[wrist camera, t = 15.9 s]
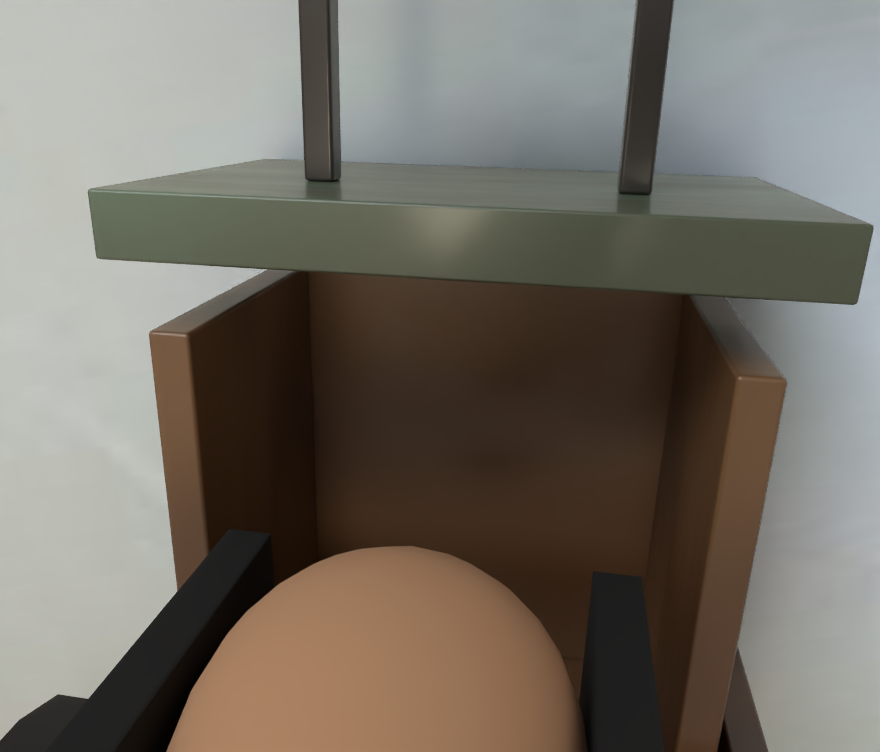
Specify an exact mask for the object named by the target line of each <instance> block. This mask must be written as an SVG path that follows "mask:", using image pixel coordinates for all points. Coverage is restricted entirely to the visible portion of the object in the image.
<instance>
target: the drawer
mask: <svg viewBox="0 0 880 752" xmlns="http://www.w3.org/2000/svg"><path fill="white" fill-rule="evenodd" d="M673 4H674V0H636V4H635V14H634V24H633V34H632V44H631V54H630V64H629V74H628V85H627V95H626V105H625V115H624V125H623V135H622V145H621V155H620V165H619V172H601V171H574V170H547V169H521V168H494V167H468V166H441V165H414V164H388V163H361V162H341V141H340V91H339V42H338V0H299V28H300V55H301V83H302V111H303V139H304V160H281V159H262V160H256V161H250V162H244V163H239V164H233V165H227V166H221V167H215V168H209V169H203V170H197V171H191V172H186V173H180V174H174V175H168V176H162V177H156V178H150V179H144V180H138V181H133V182H127V183H121V184H115V185H109V186H103V187H97V188H91V189H89V190H88V196H89V204H90V212H91V219H92V227H93V235H94V242H95V250H96V256H97V258H99V259H108V260H124V261H141V262H157V263H174V264H190V265H206V266H223V267H239V268H256V269H268V270H266V271H264V272H262V273H260V274H258V275H256V276H254V277H253V278H251V279H249V280H247V281H245V282H243V283H241V284H239V285H237V286H235V287H234V288H232V289H230V290H228V291H226V292H224V293H222V294H220V295H218V296H216V297H215V298H213V299H211V300H209V301H207V302H205V303H203V304H201V305H199V306H197V307H196V308H194V309H192V310H190V311H188V312H186V313H184V314H182V315H180V316H178V317H176V318H175V319H173V320H171V321H169V322H167V323H165V324H163V325H161V326H159V327H157V328H156V329H154V330H152V331H150V334H149V338H150V347H151V356H152V365H153V374H154V383H155V392H156V401H157V410H158V419H159V428H160V437H161V446H162V455H163V464H164V473H165V482H166V491H167V500H168V509H169V518H170V527H171V536H172V545H173V554H174V563H175V572H176V581H177V590H179V589H180V588H181V587H182V585H183V584H184V583H185V582H186V581H187V579H188V578H189V577H190V576H191V574H192V573H193V572H194V571H195V570H196V568H197V567H198V566H199V565H200V564H201V562H202V561H203V560H204V559H205V558H206V556H207V555H208V554H209V553H210V552H211V550H212V549H213V548H214V547H215V546H216V544H217V543H218V542H219V541H220V539H221V538H222V537H223V536H224V535H225V533H226V532H227V531H228V530H229V529H234V530H243V531H252V532H260V533H269V534H271V541H272V558H273V575H274V588H275V587H276V586H277V585H278V584H280V583H281V582H283V581H285V580H287V579H288V578H290V577H292V576H293V575H295V574H297V573H299V572H300V571H302V570H304V569H306V568H307V567H309V566H311V565H312V564H314V563H317V562H319V561H322V560H324V559H327V558H329V557H332V556H335V555H338V554H342V553H346V552H350V551H354V550H357V549H364V548H375V547H391V546H415V547H419V548H424V549H428V550H433V551H437V552H442V553H446V554H450V555H452V556H454V557H457V558H459V559H461V560H463V561H466V562H468V563H470V564H472V565H474V566H475V567H477V568H478V569H480V570H482V571H483V572H485V573H486V574H488V575H490V576H491V577H493V578H495V579H496V580H498V581H499V582H501V583H502V584H503V585H505V586H506V587H507V588H509V589H510V590H511V591H512V592H513V593H514V594H515V595H516V596H517V597H518V598H519V599H520V600H521V602H522V603H523V604H524V605H525V606H526V607H527V608H528V609H529V610H530V611H531V612H532V613H533V614H534V615H535V616H536V617H537V618H538V619H539V620H540V622H541V623H542V625H543V626H544V628H545V630H546V631H547V633H548V634H549V636H550V637H551V639H552V641H553V642H554V644H555V645H556V647H557V648H558V650H559V651H560V654H561V656H562V659H563V662H564V664H565V667H566V670H567V673H568V675H569V678H570V681H571V683H572V686H573V689H574V692H575V694H576V697H577V700H578V702H579V698H580V689H581V679H582V670H583V661H584V651H585V642H586V633H587V623H588V614H589V605H590V595H591V586H592V577H593V571H596V572H604V573H613V574H621V575H630V576H639V577H642V583H643V591H644V598H645V606H646V613H647V621H648V629H649V636H650V644H651V651H652V659H653V666H654V674H655V681H656V689H657V697H658V704H659V712H660V719H661V727H662V734H663V742H664V749H665V752H717V750H718V745H719V739H720V734H721V729H722V724H723V718H724V713H725V708H726V703H727V697H728V692H729V687H730V681H731V676H732V671H733V666H734V660H735V655H736V650H737V645H738V639H739V634H740V629H741V624H742V618H743V613H744V608H745V603H746V597H747V592H748V587H749V581H750V576H751V571H752V566H753V560H754V555H755V550H756V545H757V539H758V534H759V529H760V524H761V518H762V513H763V508H764V502H765V497H766V492H767V487H768V481H769V476H770V471H771V466H772V460H773V455H774V450H775V445H776V439H777V434H778V429H779V424H780V418H781V413H782V408H783V402H784V397H785V392H786V387H787V381H786V378H785V377H784V376H783V374H782V373H781V372H780V371H779V369H778V368H777V367H776V365H775V364H774V363H773V361H772V360H771V359H770V357H769V356H768V355H767V353H766V352H765V351H764V349H763V348H762V347H761V345H760V344H759V343H758V341H757V340H756V339H755V337H754V336H753V335H752V333H751V332H750V331H749V329H748V328H747V327H746V325H745V324H744V323H743V321H742V320H741V319H740V317H739V316H738V315H737V313H736V312H735V311H734V310H733V308H732V307H731V306H730V304H729V303H728V302H727V300H726V299H725V298H724V297H732V298H748V299H765V300H781V301H797V302H814V303H830V304H847V305H854V304H857V302H858V298H859V293H860V289H861V284H862V280H863V275H864V270H865V266H866V261H867V256H868V252H869V247H870V242H871V238H872V233H873V225H871V224H869V223H866V222H864V221H861V220H859V219H857V218H854V217H852V216H849V215H847V214H844V213H842V212H839V211H837V210H835V209H832V208H830V207H827V206H825V205H822V204H820V203H817V202H815V201H812V200H810V199H808V198H805V197H803V196H800V195H798V194H795V193H793V192H790V191H788V190H785V189H783V188H781V187H778V186H776V185H773V184H771V183H768V182H766V181H763V180H761V179H759V178H756V177H734V176H707V175H680V174H654V169H655V161H656V152H657V143H658V135H659V126H660V117H661V109H662V100H663V91H664V83H665V74H666V65H667V56H668V48H669V39H670V30H671V22H672V13H673Z"/></svg>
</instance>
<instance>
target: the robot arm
mask: <svg viewBox="0 0 880 752" xmlns="http://www.w3.org/2000/svg"><path fill="white" fill-rule="evenodd" d="M272 589H274V575H273V558H272V541H271V534H269V533H260V532H252V531H243V530H234V529H229V530H228V531H227V532H226V533H225V535H224V536H223V537H222V538H221V539H220V541H219V542H218V543H217V544H216V546H215V547H214V548H213V549H212V550H211V552H210V553H209V554H208V555H207V556H206V558H205V559H204V560H203V561H202V562H201V564H200V565H199V566H198V567H197V568H196V570H195V571H194V572H193V573H192V574H191V576H190V577H189V578H188V579H187V581H186V582H185V583H184V584H183V585H182V587H181V588H180V589H179V590H178V591H177V593H176V594H175V595H174V596H173V597H172V599H171V600H170V601H169V602H168V603H167V605H166V606H165V607H164V608H163V610H162V611H161V612H160V613H159V614H158V616H157V617H156V618H155V619H154V620H153V622H152V623H151V624H150V625H149V626H148V628H147V629H146V630H145V631H144V632H143V634H142V635H141V636H140V637H139V639H138V640H137V641H136V642H135V643H134V645H133V646H132V647H131V648H130V649H129V651H128V652H127V653H126V654H125V655H124V657H123V658H122V659H121V660H120V661H119V663H118V664H117V665H116V666H115V667H114V669H113V670H112V671H111V672H110V674H109V675H108V676H107V677H106V678H105V680H104V681H103V682H102V683H101V684H100V686H99V687H98V688H97V689H96V690H95V692H94V693H93V694H92V695H91V696H90V698H89V699H84V698H78V697H71V696H65V695H59V694H58V695H56V696H55V697H53V698H52V699H50V700H49V701H47V702H46V703H44V704H43V705H41V706H40V707H38V708H37V709H35V710H34V711H32V712H31V713H29V714H28V715H26V716H25V717H23V718H22V719H20V720H19V721H18V722H17V723H16V724H15V725H14V726H13V727H12V729H11V730H10V731H9V732H8V733H7V734H6V735H5V736H4V737H3V738H2V740H1V741H0V752H166V751H167V749H168V746H169V744H170V742H171V739H172V737H173V734H174V732H175V729H176V727H177V724H178V722H179V719H180V717H181V715H182V712H183V710H184V707H185V705H186V702H187V700H188V697H189V695H190V692H191V690H192V689H193V687H194V685H195V684H196V682H197V681H198V679H199V678H200V676H201V674H202V673H203V671H204V670H205V668H206V666H207V665H208V663H209V662H210V660H211V659H212V657H213V655H214V654H215V652H216V651H217V649H218V648H219V646H220V644H221V643H222V641H223V640H224V638H225V636H226V635H227V634H228V633H229V631H230V630H231V629H232V628H233V627H234V626H235V624H236V623H237V622H238V621H239V620H240V619H241V617H242V616H243V615H244V614H245V613H246V612H247V611H248V610H249V609H250V608H251V607H252V606H253V605H255V604H256V603H257V602H258V601H259V600H261V599H262V598H263V597H264V596H265V595H267V594H268V593H269V592H270V591H271V590H272ZM579 705H580V708H581V711H582V714H583V720H584V727H585V733H586V740H587V747H588V752H665V749H664V742H663V734H662V727H661V719H660V712H659V704H658V697H657V689H656V681H655V674H654V666H653V659H652V651H651V644H650V636H649V629H648V621H647V613H646V606H645V598H644V591H643V583H642V577H639V576H630V575H621V574H613V573H604V572H596V571H593V577H592V586H591V595H590V605H589V614H588V623H587V633H586V642H585V651H584V661H583V670H582V679H581V689H580V698H579Z"/></svg>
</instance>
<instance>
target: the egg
mask: <svg viewBox="0 0 880 752" xmlns="http://www.w3.org/2000/svg"><path fill="white" fill-rule="evenodd" d="M166 752H588V747H587V740H586V733H585V727H584V720H583V714H582V711H581V708H580V705H579V702H578V700H577V697H576V694H575V692H574V689H573V686H572V683H571V681H570V678H569V675H568V673H567V670H566V667H565V664H564V662H563V659H562V656H561V654H560V651H559V650H558V648H557V647H556V645H555V644H554V642H553V641H552V639H551V637H550V636H549V634H548V633H547V631H546V630H545V628H544V626H543V625H542V623H541V622H540V620H539V619H538V618H537V617H536V616H535V615H534V614H533V613H532V612H531V611H530V610H529V609H528V608H527V607H526V606H525V605H524V604H523V603H522V602H521V600H520V599H519V598H518V597H517V596H516V595H515V594H514V593H513V592H512V591H511V590H510V589H509V588H507V587H506V586H505V585H503V584H502V583H501V582H499V581H498V580H496V579H495V578H493V577H491V576H490V575H488V574H486V573H485V572H483V571H482V570H480V569H478V568H477V567H475V566H474V565H472V564H470V563H468V562H466V561H463V560H461V559H459V558H457V557H454V556H452V555H450V554H446V553H442V552H437V551H433V550H428V549H424V548H419V547H415V546H391V547H375V548H364V549H357V550H354V551H350V552H346V553H342V554H338V555H335V556H332V557H329V558H327V559H324V560H322V561H319V562H317V563H314V564H312V565H311V566H309V567H307V568H306V569H304V570H302V571H300V572H299V573H297V574H295V575H293V576H292V577H290V578H288V579H287V580H285V581H283V582H281V583H280V584H278V585H277V586H276V587H275V588H274V589H272V590H271V591H270V592H269V593H268V594H267V595H265V596H264V597H263V598H262V599H261V600H259V601H258V602H257V603H256V604H255V605H253V606H252V607H251V608H250V609H249V610H248V611H247V612H246V613H245V614H244V615H243V616H242V617H241V619H240V620H239V621H238V622H237V623H236V624H235V626H234V627H233V628H232V629H231V630H230V631H229V633H228V634H227V635H226V636H225V638H224V640H223V641H222V643H221V644H220V646H219V648H218V649H217V651H216V652H215V654H214V655H213V657H212V659H211V660H210V662H209V663H208V665H207V666H206V668H205V670H204V671H203V673H202V674H201V676H200V678H199V679H198V681H197V682H196V684H195V685H194V687H193V689H192V690H191V692H190V695H189V697H188V700H187V702H186V705H185V707H184V710H183V712H182V715H181V717H180V719H179V722H178V724H177V727H176V729H175V732H174V734H173V737H172V739H171V742H170V744H169V746H168V749H167V751H166Z"/></svg>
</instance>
